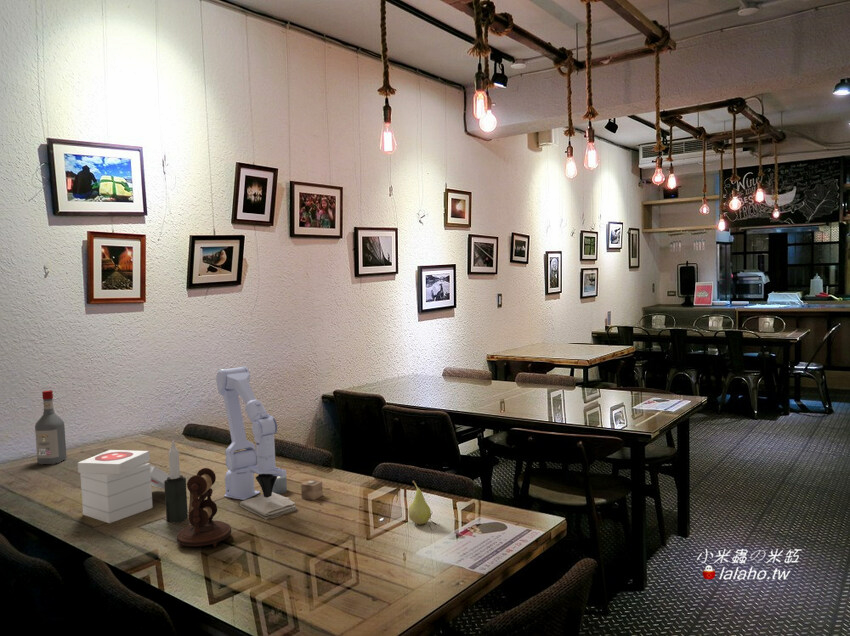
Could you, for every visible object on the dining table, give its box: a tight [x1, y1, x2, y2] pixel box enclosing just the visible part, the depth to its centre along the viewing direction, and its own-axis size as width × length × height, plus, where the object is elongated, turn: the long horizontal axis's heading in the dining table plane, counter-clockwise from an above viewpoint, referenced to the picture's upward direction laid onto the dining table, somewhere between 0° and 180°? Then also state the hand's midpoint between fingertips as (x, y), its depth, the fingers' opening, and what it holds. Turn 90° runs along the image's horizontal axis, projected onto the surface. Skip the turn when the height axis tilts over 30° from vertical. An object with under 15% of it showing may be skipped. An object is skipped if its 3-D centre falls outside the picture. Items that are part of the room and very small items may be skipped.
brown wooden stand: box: [176, 467, 232, 548], centre depth 179 cm, size 15×15×20 cm
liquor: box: [34, 389, 68, 465], centre depth 263 cm, size 9×9×30 cm
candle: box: [164, 440, 189, 524], centre depth 195 cm, size 5×5×25 cm
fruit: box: [407, 480, 432, 525], centre depth 187 cm, size 7×8×12 cm
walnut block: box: [300, 479, 323, 501], centre depth 213 cm, size 5×5×5 cm
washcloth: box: [239, 492, 298, 521], centre depth 204 cm, size 12×18×3 cm, turn 45°
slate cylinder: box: [272, 475, 288, 495], centre depth 219 cm, size 5×5×5 cm
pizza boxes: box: [77, 449, 170, 524], centre depth 209 cm, size 19×30×18 cm, turn 147°
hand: (267, 496), depth 203 cm, fingers closed
